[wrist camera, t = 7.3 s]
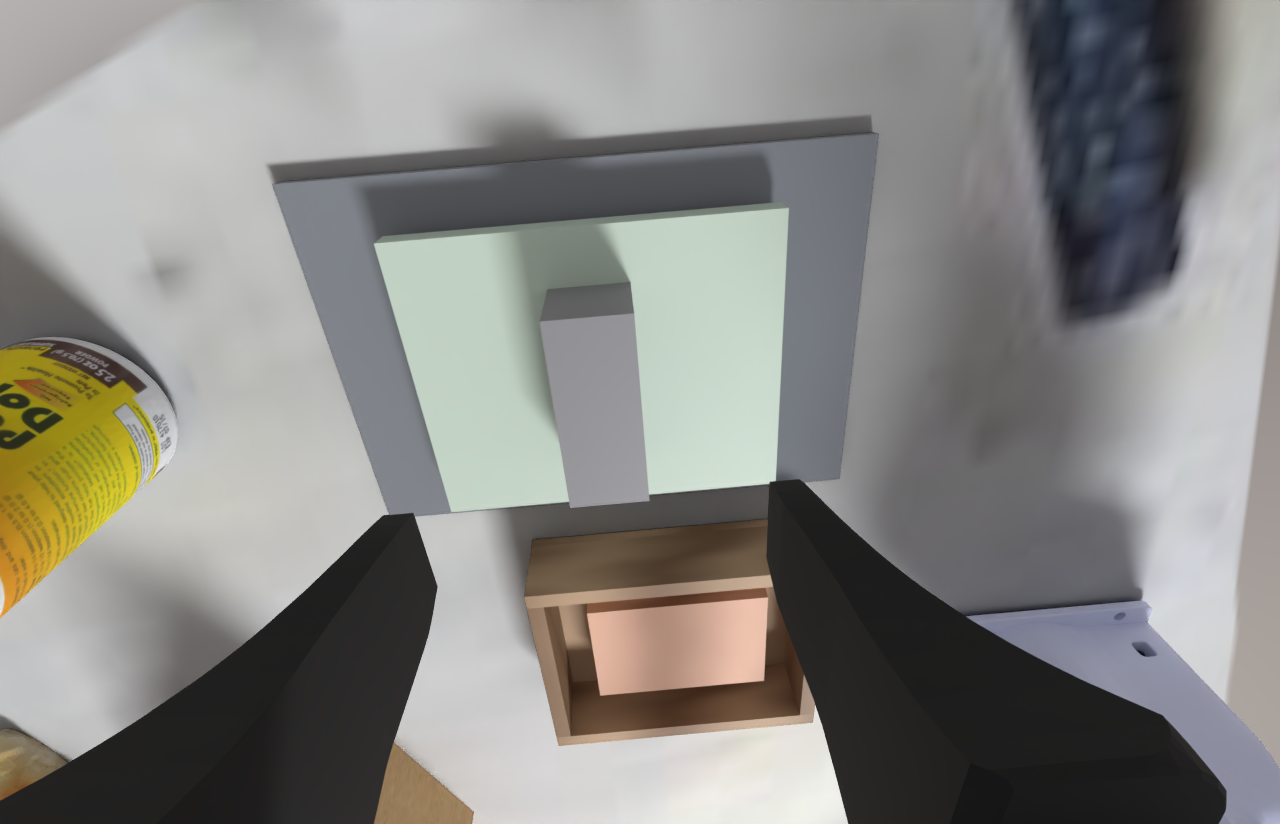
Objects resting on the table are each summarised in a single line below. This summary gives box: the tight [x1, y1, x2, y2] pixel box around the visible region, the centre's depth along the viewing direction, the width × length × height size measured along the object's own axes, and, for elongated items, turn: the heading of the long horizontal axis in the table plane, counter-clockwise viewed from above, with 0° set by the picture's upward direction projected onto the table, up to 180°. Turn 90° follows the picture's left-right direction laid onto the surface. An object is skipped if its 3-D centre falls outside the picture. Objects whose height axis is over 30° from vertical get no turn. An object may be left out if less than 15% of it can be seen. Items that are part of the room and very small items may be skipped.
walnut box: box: [524, 519, 815, 746], centre depth 26 cm, size 11×9×3 cm
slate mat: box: [272, 132, 879, 516], centre depth 20 cm, size 17×12×1 cm
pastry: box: [0, 729, 68, 800], centre depth 30 cm, size 9×7×4 cm
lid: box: [374, 202, 789, 512], centre depth 19 cm, size 11×9×4 cm
